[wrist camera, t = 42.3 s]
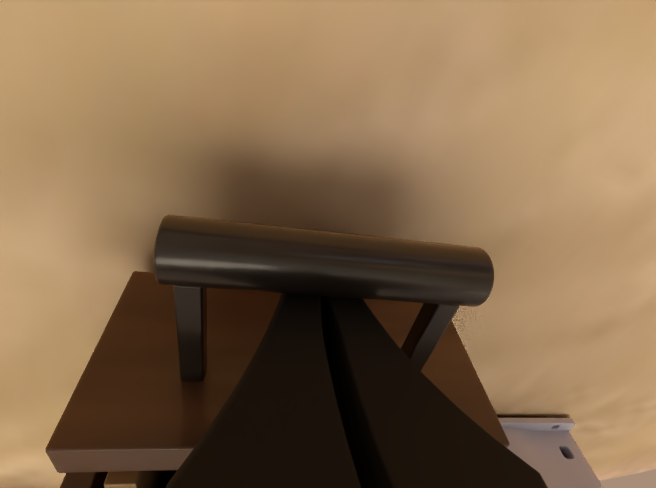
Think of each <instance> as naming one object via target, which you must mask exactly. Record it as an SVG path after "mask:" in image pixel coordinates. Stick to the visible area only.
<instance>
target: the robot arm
mask: <svg viewBox="0 0 656 488" xmlns="http://www.w3.org/2000/svg"><path fill="white" fill-rule="evenodd" d="M498 419H499V422H500V424H501V426H502V428H503V430H504V432H505V434H506V436H507V438H508V441H509V443H510V445H509V446H508V447H507V448H506V447H505V446H504V445H503V444H501V443H500V442H499V441H497V440H496V439H495V438H493V437H492V436H491V435H490V434H489V433H487V432H486V431H485V430H484V429H483V428H481V427H480V426H479V425H478V424H477V423H476V422H474V421H473V420H472V419H471V418H470V417H469V416H467V415H466V414H465V413H464V412H463V411H462V410H461V409H459V408H458V407H457V406H456V405H455V404H454V403H453V402H452V401H451V400H450V399H449V398H448V397H447V396H446V395H444V394H443V393H442V392H441V391H440V390H439V389H438V388H437V387H436V386H435V385H434V384H433V383H432V382H431V381H430V380H429V379H428V378H427V377H426V376H425V375H424V374H423V373H422V372H421V371H420V370H419V369H418V368H417V367H416V366H415V365H414V363H413V362H412V361H411V360H410V359H409V358H408V357H407V356H406V354H405V353H404V352H403V351H402V350H401V349H400V347H399V346H398V345H397V344H396V343H395V341H394V340H393V339H392V338H391V336H390V335H389V334H388V333H387V331H386V330H385V329H384V327H383V326H382V325H381V323H380V322H379V321H378V319H377V318H376V317H375V315H374V314H373V312H372V311H371V309H370V308H369V306H368V305H367V304H366V302H365V301H364V299H360V298H346V297H332V296H318V295H304V294H289V293H281V296H280V299H279V302H278V305H277V307H276V309H275V312H274V314H273V316H272V319H271V321H270V323H269V326H268V328H267V330H266V332H265V334H264V336H263V338H262V340H261V342H260V344H259V346H258V348H257V350H256V352H255V354H254V356H253V358H252V359H251V361H250V363H249V365H248V366H247V368H246V370H245V372H244V373H243V375H242V377H241V379H240V380H239V382H238V384H237V385H236V387H235V389H234V390H233V392H232V393H231V395H230V396H229V398H228V399H227V401H226V402H225V404H224V405H223V407H222V408H221V410H220V411H219V413H218V414H217V416H216V417H215V419H214V420H213V422H212V423H211V425H210V426H209V428H208V429H207V431H206V432H205V434H204V435H203V437H202V438H201V439H200V441H199V442H198V443H197V445H196V446H195V447H194V449H193V450H192V451H191V453H190V454H189V455H188V457H187V458H186V459H185V461H184V462H183V463H182V465H181V466H180V468H179V469H178V470H177V472H176V473H175V474H174V476H173V477H172V478H171V480H170V481H169V482H168V484H167V486H166V488H603V486H602V485H601V483H600V481H599V480H598V478H597V477H596V475H595V473H594V472H593V470H592V468H591V467H590V465H589V464H588V462H587V460H586V459H585V457H584V455H583V454H582V452H581V450H580V449H579V447H578V446H577V444H576V442H575V441H574V439H573V437H572V436H571V434H570V433H569V431H570V430H571V429H572V428H573V427H574V426H575V423H574V421H573V420H572V419H571V418H498Z"/></svg>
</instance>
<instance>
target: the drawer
mask: <svg viewBox="0 0 656 488" xmlns="http://www.w3.org/2000/svg"><path fill="white" fill-rule="evenodd" d="M154 272H155V273H152V272H138V271H134V272H133V273H132V275H131V277H130V279H129V281H128V283H127V285H126V287H125V289H124V291H123V293H122V295H121V297H120V299H119V301H118V304H117V306H116V308H115V310H114V312H113V314H112V316H111V318H110V320H109V322H108V324H107V326H106V328H105V330H104V332H103V334H102V336H101V338H100V340H99V342H98V344H97V346H96V348H95V350H94V352H93V354H92V356H91V358H90V360H89V362H88V364H87V366H86V368H85V370H84V372H83V374H82V376H81V378H80V380H79V382H78V384H77V386H76V388H75V390H74V392H73V394H72V396H71V399H70V401H69V403H68V405H67V407H66V409H65V411H64V413H63V415H62V417H61V419H60V421H59V423H58V425H57V427H56V429H55V431H54V433H53V435H52V437H51V439H50V441H49V443H48V445H47V447H46V453H47V455H48V457H49V458H50V460H51V462H52V463H53V465H54V467H55V469H56V470H57V472H59V473H76V472H108V474H107V477H106V479H105V482H104V487H105V488H166V486H167V484H168V482H169V481H170V480H171V478H172V477H173V476H174V474H175V473H176V472H177V470H178V469H179V468H180V466H181V465H182V463H183V462H184V461H185V459H186V458H187V457H188V455H189V454H190V453H191V451H192V450H193V449H194V447H195V446H196V445H197V443H198V442H199V441H200V439H201V438H202V437H203V435H204V434H205V432H206V431H207V429H208V428H209V426H210V425H211V423H212V422H213V420H214V419H215V417H216V416H217V414H218V413H219V411H220V410H221V408H222V407H223V405H224V404H225V402H226V401H227V399H228V398H229V396H230V395H231V393H232V392H233V390H234V389H235V387H236V385H237V384H238V382H239V380H240V379H241V377H242V375H243V373H244V372H245V370H246V368H247V366H248V365H249V363H250V361H251V359H252V358H253V356H254V354H255V352H256V350H257V348H258V346H259V344H260V342H261V340H262V338H263V336H264V334H265V332H266V330H267V328H268V326H269V323H270V321H271V319H272V316H273V314H274V312H275V309H276V307H277V305H278V302H279V299H280V296H281V293H289V294H304V295H318V296H332V297H346V298H360V299H364V301H365V302H366V304H367V305H368V306H369V308H370V309H371V311H372V312H373V314H374V315H375V317H376V318H377V319H378V321H379V322H380V323H381V325H382V326H383V327H384V329H385V330H386V331H387V333H388V334H389V335H390V336H391V338H392V339H393V340H394V341H395V343H396V344H397V345H398V346H399V347H400V349H401V350H402V351H403V352H404V353H405V354H406V356H407V357H408V358H409V359H410V360H411V361H412V362H413V363H414V365H415V366H416V367H417V368H418V369H419V370H420V371H421V372H422V373H423V374H424V375H425V376H426V377H427V378H428V379H429V380H430V381H431V382H432V383H433V384H434V385H435V386H436V387H437V388H438V389H439V390H440V391H441V392H442V393H443V394H444V395H446V396H447V397H448V398H449V399H450V400H451V401H452V402H453V403H454V404H455V405H456V406H457V407H458V408H459V409H461V410H462V411H463V412H464V413H465V414H466V415H467V416H469V417H470V418H471V419H472V420H473V421H474V422H476V423H477V424H478V425H479V426H480V427H481V428H483V429H484V430H485V431H486V432H487V433H489V434H490V435H491V436H492V437H493V438H495V439H496V440H497V441H499V442H500V443H501V444H503V445H504V446H505V447H506V448H507V447H508V446H509V445H510V443H509V441H508V438H507V436H506V434H505V432H504V430H503V428H502V426H501V424H500V422H499V419H498V417H497V415H496V413H495V411H494V409H493V407H492V405H491V403H490V400H489V398H488V396H487V394H486V392H485V390H484V388H483V386H482V384H481V382H480V379H479V377H478V375H477V373H476V371H475V369H474V367H473V365H472V363H471V360H470V358H469V356H468V354H467V352H466V350H465V348H464V346H463V344H462V341H461V339H460V337H459V335H458V333H457V331H456V329H455V327H454V325H453V323H452V318H453V316H454V315H455V313H456V311H457V309H458V308H459V305H460V306H478V305H481V304H482V303H484V302H485V301H486V300H487V298H488V297H489V295H490V293H491V290H492V287H493V281H494V270H493V264H492V261H491V259H490V257H489V255H488V254H487V253H486V252H485V251H484V250H482V249H481V248H477V247H467V246H458V245H449V244H439V243H430V242H420V241H411V240H402V239H392V238H383V237H373V236H364V235H354V234H345V233H336V232H326V231H317V230H307V229H298V228H289V227H279V226H270V225H260V224H251V223H241V222H232V221H223V220H213V219H204V218H194V217H185V216H176V215H167V216H165V217H164V218H163V220H162V222H161V224H160V226H159V229H158V233H157V237H156V242H155V249H154Z"/></svg>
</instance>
